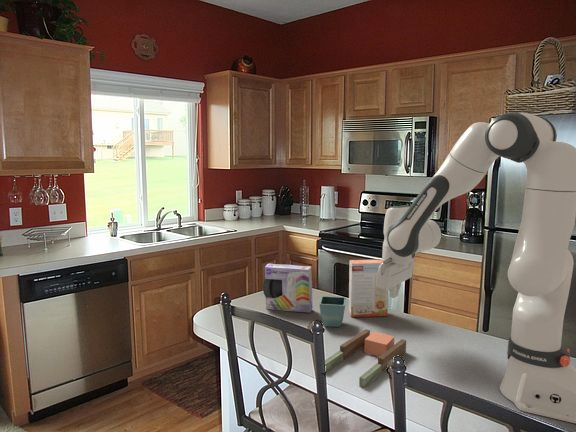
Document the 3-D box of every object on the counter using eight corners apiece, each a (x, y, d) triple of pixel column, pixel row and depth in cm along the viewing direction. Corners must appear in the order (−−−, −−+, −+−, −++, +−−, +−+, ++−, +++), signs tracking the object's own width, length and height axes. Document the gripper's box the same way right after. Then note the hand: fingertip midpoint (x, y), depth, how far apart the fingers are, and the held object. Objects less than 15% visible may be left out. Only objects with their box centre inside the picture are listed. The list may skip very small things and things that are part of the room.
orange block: (394, 350, 140) (394, 336, 140) (385, 358, 135) (386, 344, 134) (373, 344, 144) (373, 331, 143) (364, 353, 138) (364, 339, 138)
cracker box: (383, 311, 174) (385, 258, 171) (387, 317, 168) (389, 262, 165) (347, 311, 173) (349, 258, 170) (350, 317, 167) (352, 262, 164)
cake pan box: (262, 309, 176) (262, 265, 173) (266, 304, 181) (266, 262, 178) (309, 314, 170) (310, 269, 168) (312, 309, 175) (313, 266, 172)
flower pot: (318, 328, 157) (319, 303, 156) (321, 319, 165) (321, 295, 164) (344, 330, 155) (344, 305, 154) (345, 320, 164) (345, 297, 163)
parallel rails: (405, 352, 138) (406, 340, 138) (364, 387, 118) (364, 373, 117) (365, 340, 147) (365, 329, 146) (320, 371, 126) (320, 358, 126)
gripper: (391, 263, 133) (388, 307, 135) (418, 251, 149) (415, 291, 151) (372, 259, 137) (370, 302, 139) (400, 248, 153) (398, 287, 155)
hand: (394, 296), depth 145 cm, fingers closed
